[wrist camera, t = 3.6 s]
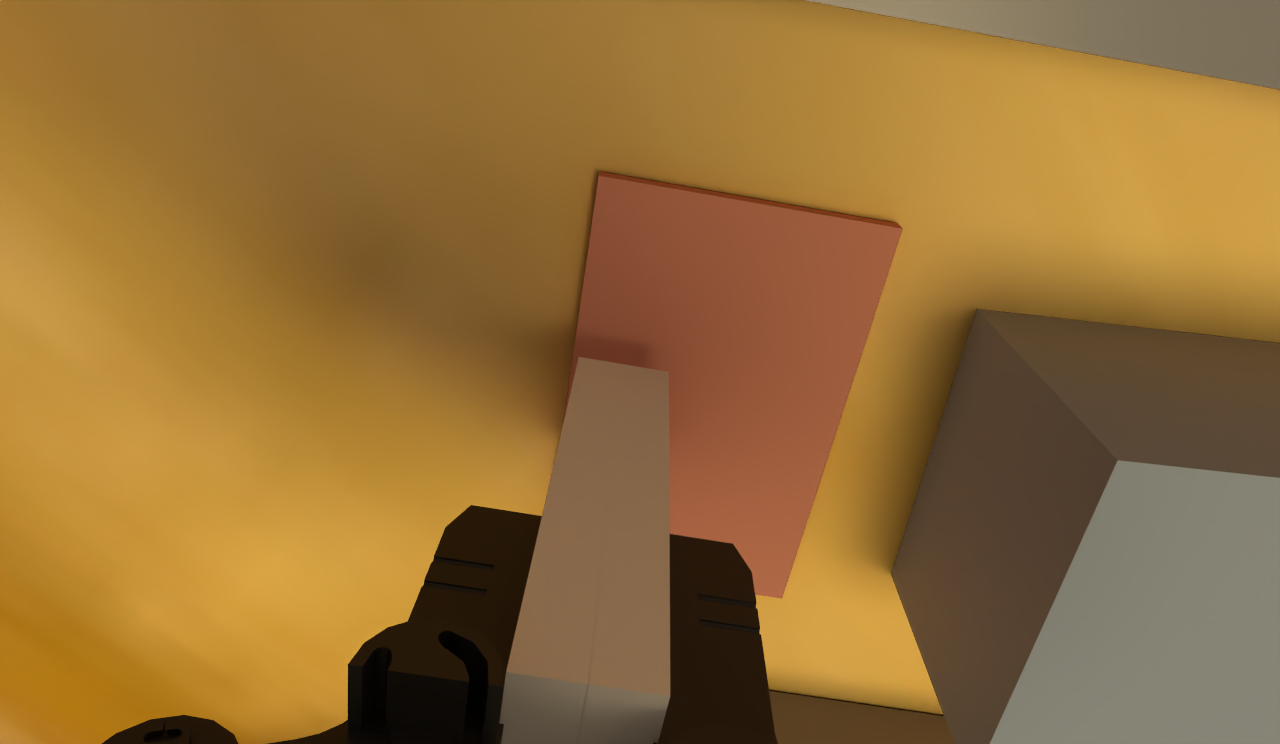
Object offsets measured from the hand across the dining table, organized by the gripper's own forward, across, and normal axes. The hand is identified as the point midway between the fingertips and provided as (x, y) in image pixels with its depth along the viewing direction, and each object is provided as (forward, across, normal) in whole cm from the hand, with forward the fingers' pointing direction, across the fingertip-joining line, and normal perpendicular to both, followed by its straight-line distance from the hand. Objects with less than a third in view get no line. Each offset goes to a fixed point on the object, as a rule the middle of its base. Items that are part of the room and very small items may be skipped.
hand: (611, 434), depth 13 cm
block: (+2, +10, 0) cm, 10 cm away
